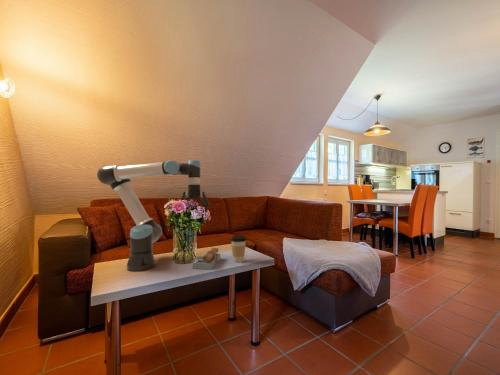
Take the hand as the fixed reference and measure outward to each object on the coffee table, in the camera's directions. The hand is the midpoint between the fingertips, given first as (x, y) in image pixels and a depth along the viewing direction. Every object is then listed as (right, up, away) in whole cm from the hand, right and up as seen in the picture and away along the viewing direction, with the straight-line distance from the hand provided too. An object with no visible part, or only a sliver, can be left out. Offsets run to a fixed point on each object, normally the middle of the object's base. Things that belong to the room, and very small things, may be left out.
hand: (194, 217), depth 149 cm
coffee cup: (+29, -27, -5) cm, 40 cm away
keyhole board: (+10, -27, -9) cm, 30 cm away
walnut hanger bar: (+12, -27, -9) cm, 31 cm away
